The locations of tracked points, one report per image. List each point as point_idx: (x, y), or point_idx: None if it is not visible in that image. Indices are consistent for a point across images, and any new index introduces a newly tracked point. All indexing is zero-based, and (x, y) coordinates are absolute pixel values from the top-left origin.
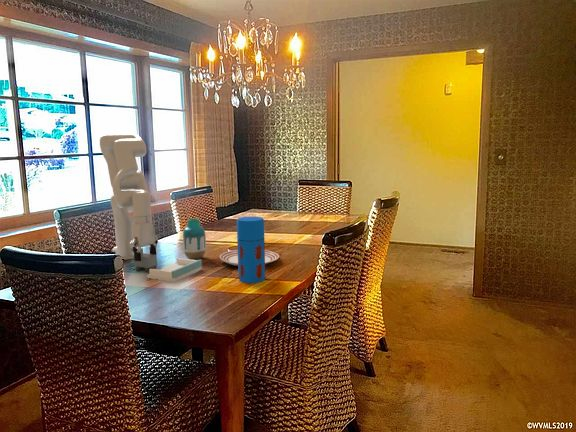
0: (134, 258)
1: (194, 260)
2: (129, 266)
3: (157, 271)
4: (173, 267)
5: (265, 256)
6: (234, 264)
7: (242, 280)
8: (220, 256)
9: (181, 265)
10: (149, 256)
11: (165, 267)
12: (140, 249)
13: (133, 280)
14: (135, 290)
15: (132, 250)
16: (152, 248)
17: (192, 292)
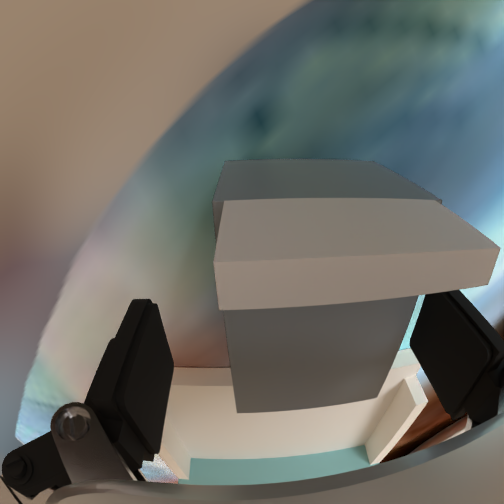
0: (125, 318)
1: (379, 456)
2: (321, 4)
3: None
4: (331, 406)
5: None
6: None
7: None
8: (461, 431)
9: (376, 406)
10: (296, 397)
11: None
12: (422, 282)
13: (71, 328)
14: (40, 392)
15: (41, 440)
16: (460, 387)
17: (156, 478)
